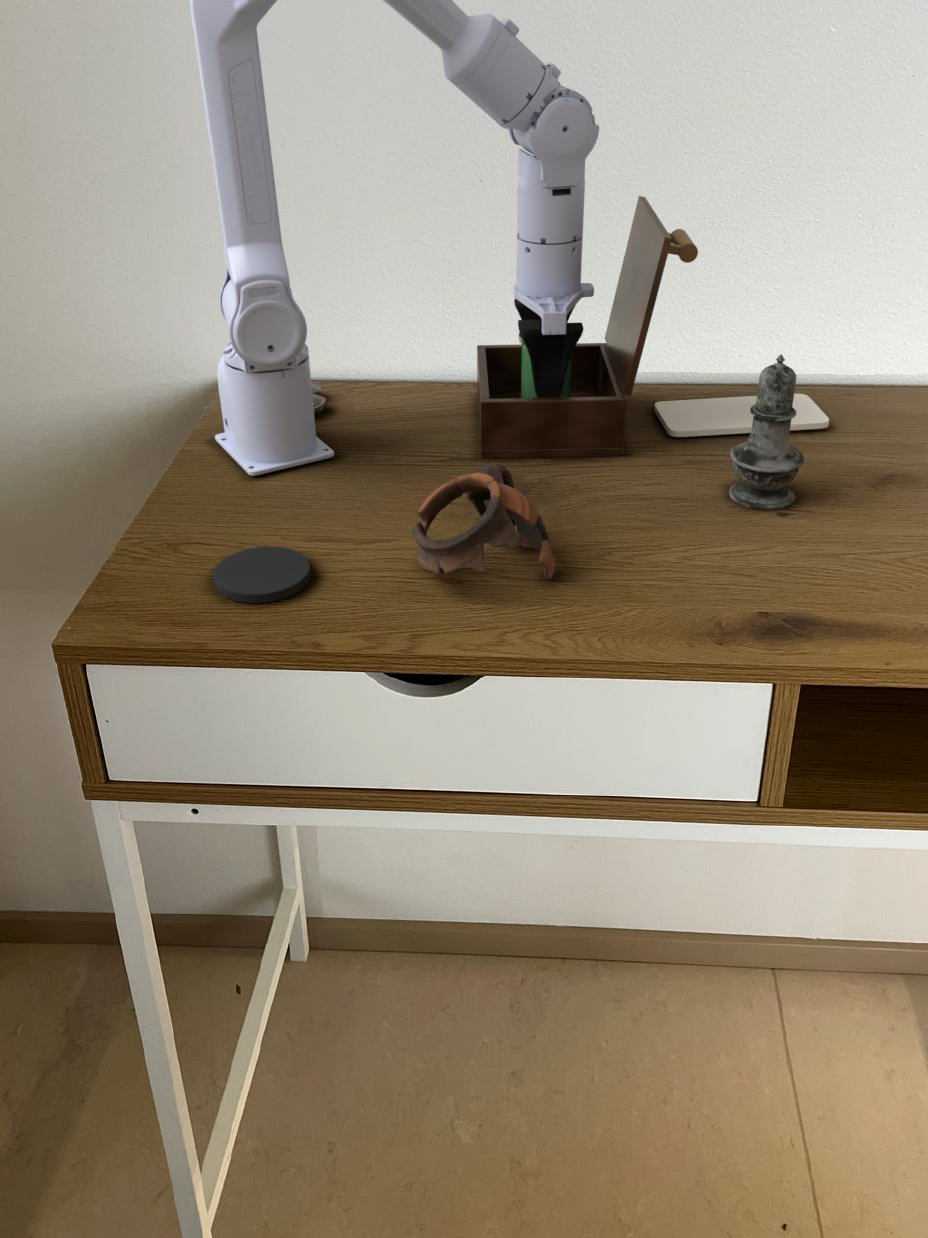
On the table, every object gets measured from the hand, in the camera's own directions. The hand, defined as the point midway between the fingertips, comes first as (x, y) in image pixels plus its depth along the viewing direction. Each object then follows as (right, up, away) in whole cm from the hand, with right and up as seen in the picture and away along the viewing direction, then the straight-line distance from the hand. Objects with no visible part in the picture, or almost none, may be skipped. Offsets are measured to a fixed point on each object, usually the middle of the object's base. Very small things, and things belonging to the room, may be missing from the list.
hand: (545, 385), depth 106 cm
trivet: (-22, -19, -22) cm, 37 cm away
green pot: (0, -2, +1) cm, 3 cm away
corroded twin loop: (-24, -1, +6) cm, 24 cm away
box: (0, -3, +1) cm, 4 cm away
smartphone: (+18, -3, +1) cm, 19 cm away
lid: (+7, +7, -6) cm, 12 cm away
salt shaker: (+17, -12, -12) cm, 24 cm away
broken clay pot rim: (-6, -18, -21) cm, 28 cm away
